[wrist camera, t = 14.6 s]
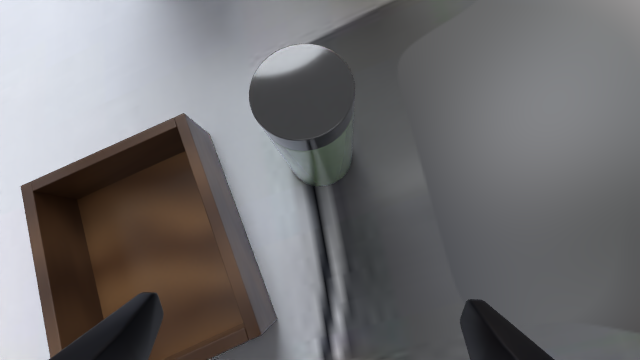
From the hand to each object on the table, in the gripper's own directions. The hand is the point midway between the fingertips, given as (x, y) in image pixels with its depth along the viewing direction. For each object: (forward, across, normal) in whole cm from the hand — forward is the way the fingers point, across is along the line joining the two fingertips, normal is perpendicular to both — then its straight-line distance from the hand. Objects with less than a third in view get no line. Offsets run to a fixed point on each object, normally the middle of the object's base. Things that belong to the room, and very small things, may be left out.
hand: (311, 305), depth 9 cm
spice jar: (+16, 0, +2) cm, 16 cm away
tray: (+12, +12, +8) cm, 18 cm away
